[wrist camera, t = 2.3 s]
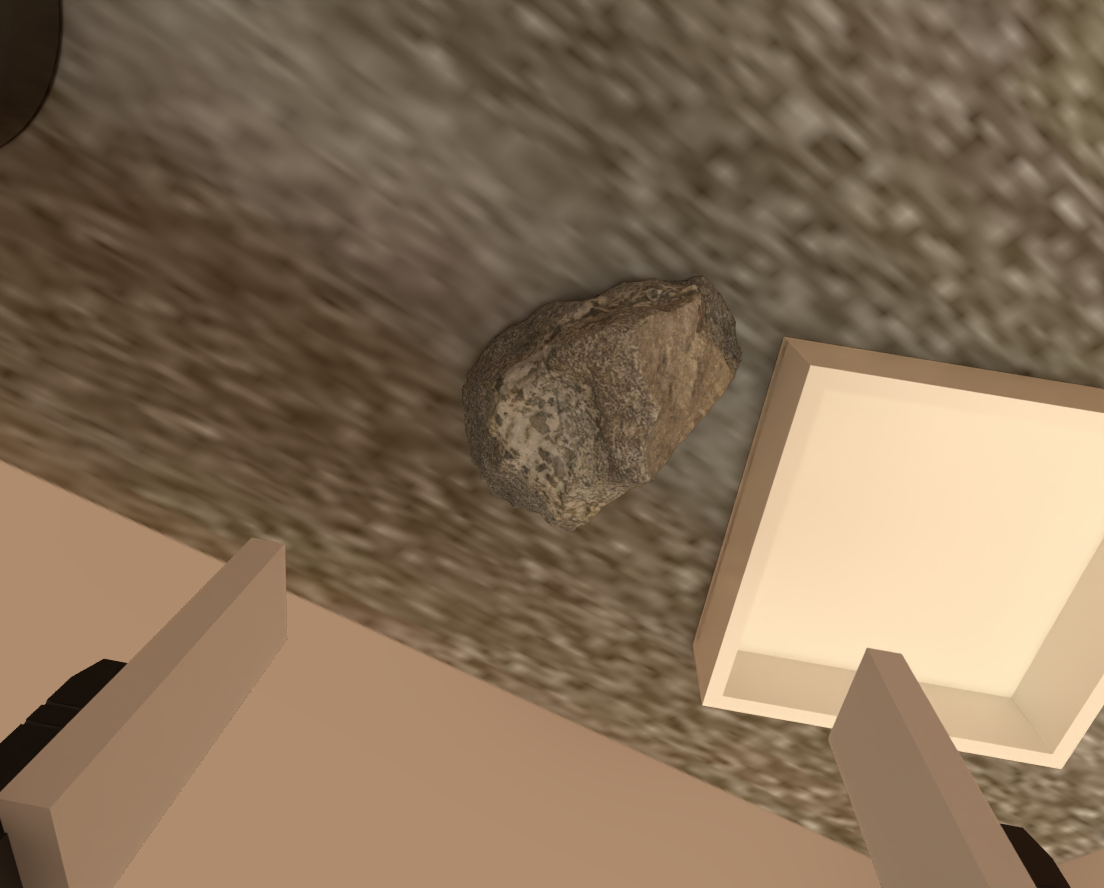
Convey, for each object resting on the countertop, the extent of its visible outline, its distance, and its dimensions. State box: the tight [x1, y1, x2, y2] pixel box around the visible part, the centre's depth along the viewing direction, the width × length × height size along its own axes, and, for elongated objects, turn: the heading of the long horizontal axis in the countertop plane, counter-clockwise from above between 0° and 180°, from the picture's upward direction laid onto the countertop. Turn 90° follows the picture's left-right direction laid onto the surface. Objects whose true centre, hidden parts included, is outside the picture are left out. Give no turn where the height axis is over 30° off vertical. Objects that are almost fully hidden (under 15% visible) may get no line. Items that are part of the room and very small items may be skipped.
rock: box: [462, 277, 742, 532], centre depth 28 cm, size 13×9×6 cm, turn 137°
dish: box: [693, 337, 1104, 769], centre depth 30 cm, size 18×18×4 cm
